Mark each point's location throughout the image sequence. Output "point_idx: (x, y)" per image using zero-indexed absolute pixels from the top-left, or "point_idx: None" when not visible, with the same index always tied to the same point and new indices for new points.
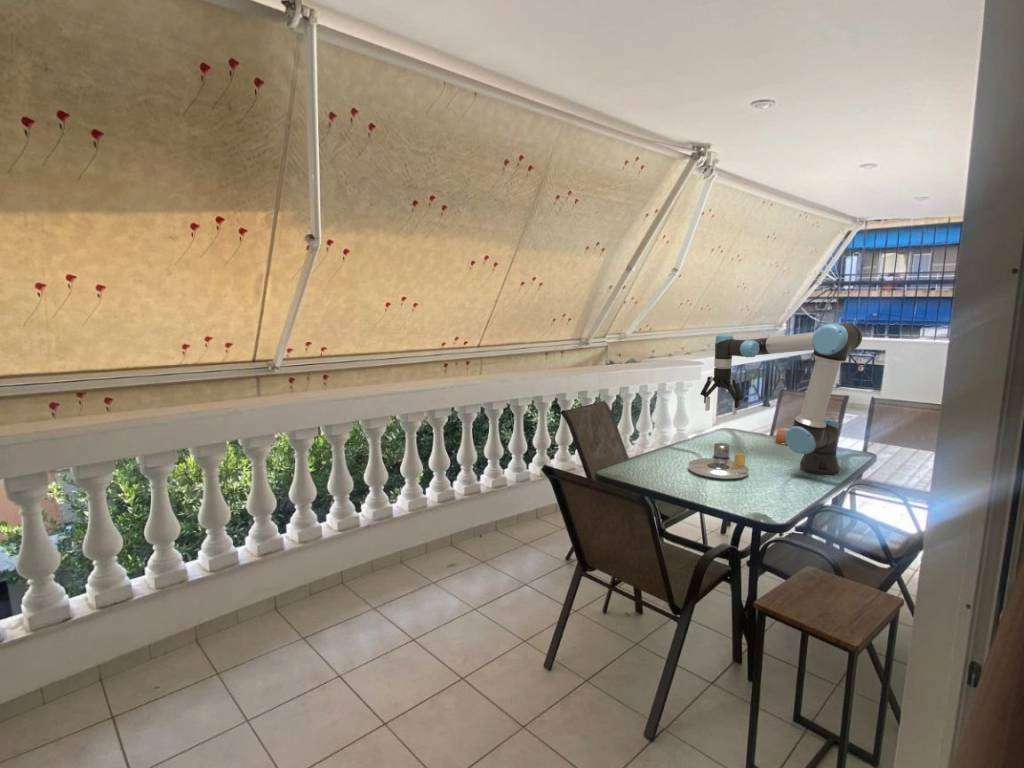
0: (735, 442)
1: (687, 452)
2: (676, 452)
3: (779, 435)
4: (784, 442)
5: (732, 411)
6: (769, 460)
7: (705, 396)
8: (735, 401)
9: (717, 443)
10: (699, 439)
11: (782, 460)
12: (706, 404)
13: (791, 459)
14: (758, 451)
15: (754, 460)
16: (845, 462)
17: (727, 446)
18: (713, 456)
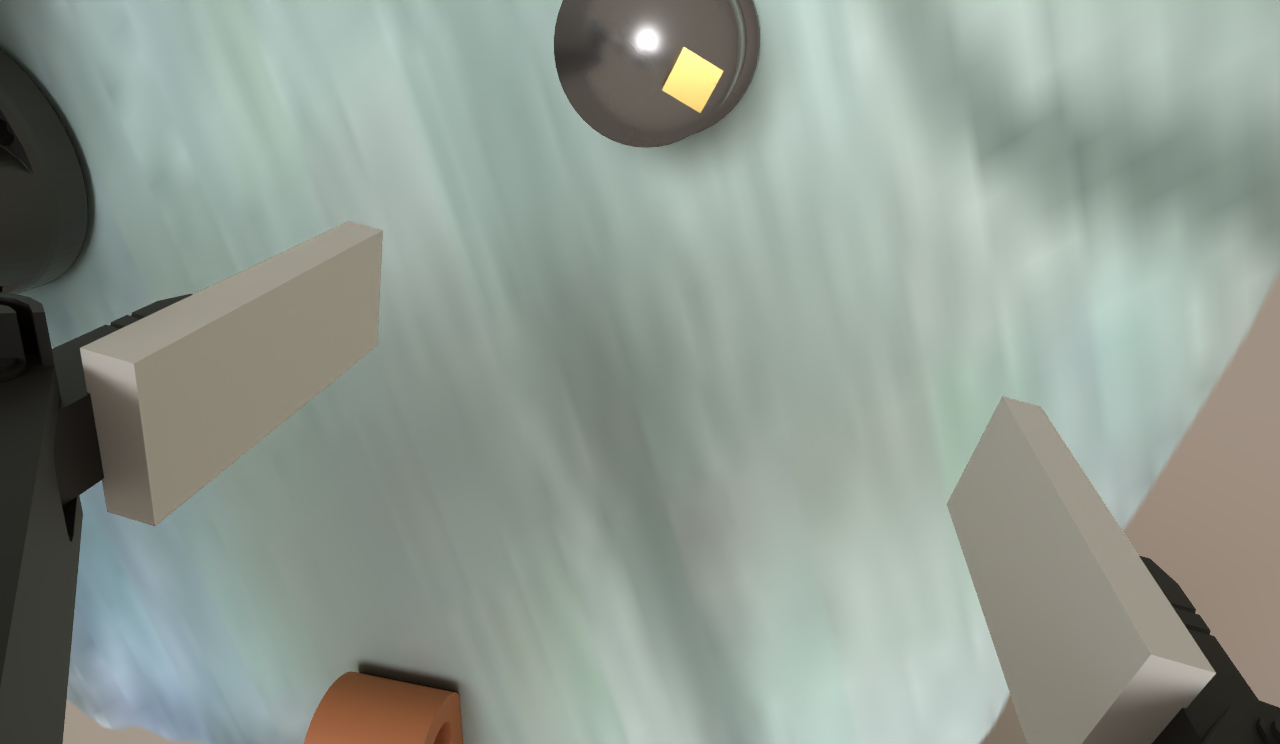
0: (711, 647)
1: (1070, 100)
2: (1211, 15)
3: (403, 736)
4: (389, 688)
5: (335, 249)
6: None
7: (1242, 708)
8: (85, 379)
9: (703, 61)
10: None
11: None
12: (1064, 489)
13: None
14: (490, 482)
15: (417, 196)
16: None
17: (562, 4)
18: (752, 41)
